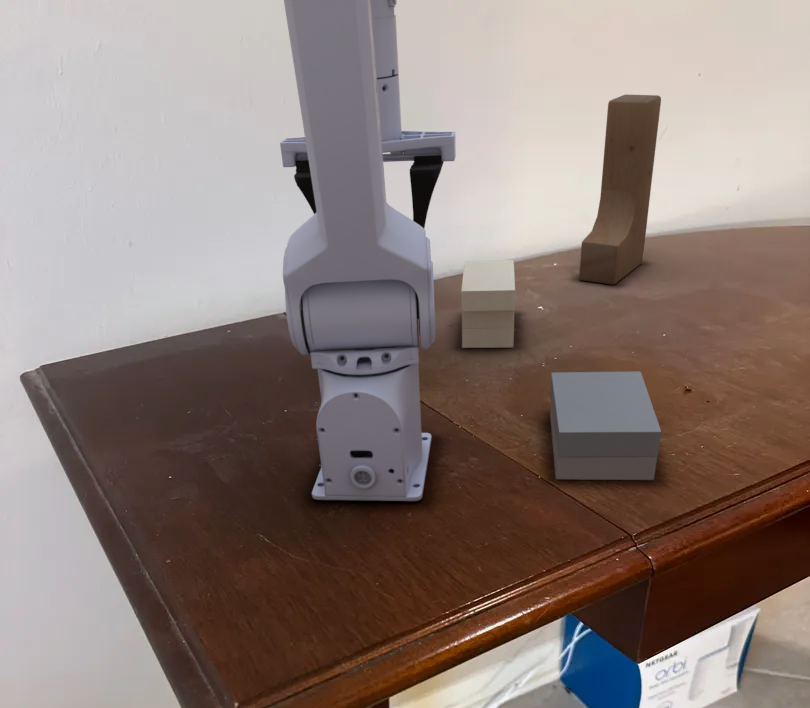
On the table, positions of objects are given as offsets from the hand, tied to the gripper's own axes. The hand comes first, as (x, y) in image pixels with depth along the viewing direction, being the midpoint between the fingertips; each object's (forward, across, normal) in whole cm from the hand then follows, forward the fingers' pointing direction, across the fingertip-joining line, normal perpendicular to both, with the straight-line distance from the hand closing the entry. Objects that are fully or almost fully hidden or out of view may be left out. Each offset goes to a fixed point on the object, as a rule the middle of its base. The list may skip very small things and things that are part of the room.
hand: (375, 249), depth 73 cm
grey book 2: (+10, -19, +17) cm, 28 cm away
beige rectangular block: (+6, -10, -6) cm, 13 cm away
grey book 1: (+8, -19, +17) cm, 27 cm away
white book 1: (+8, -10, -7) cm, 15 cm away
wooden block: (+11, -24, -25) cm, 36 cm away
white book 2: (+10, -10, -7) cm, 16 cm away
